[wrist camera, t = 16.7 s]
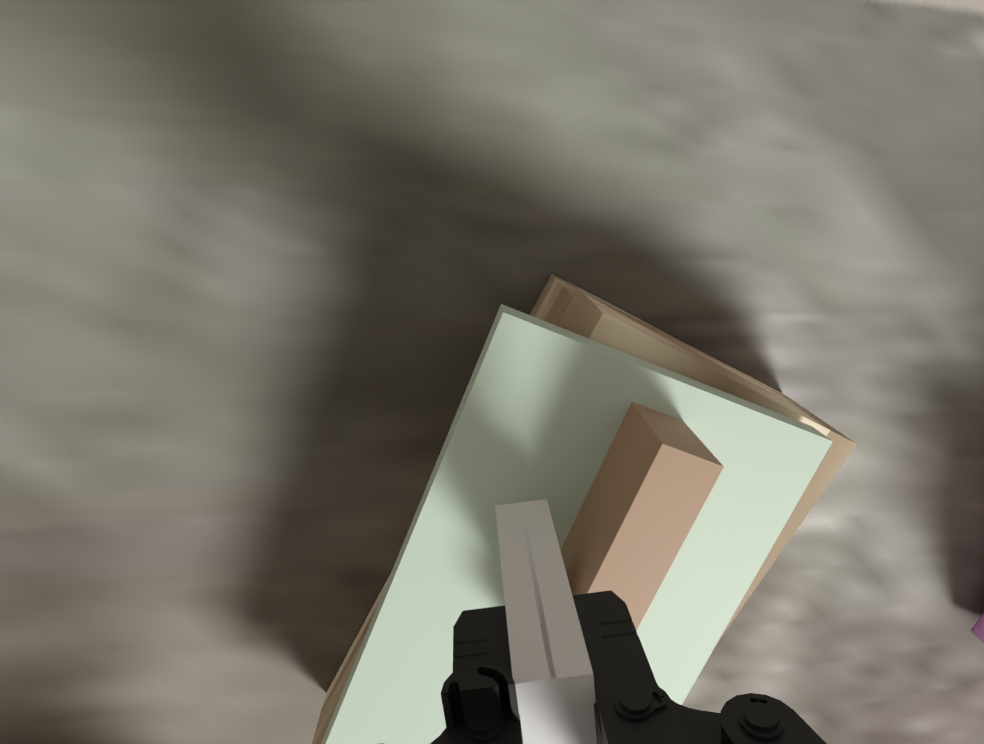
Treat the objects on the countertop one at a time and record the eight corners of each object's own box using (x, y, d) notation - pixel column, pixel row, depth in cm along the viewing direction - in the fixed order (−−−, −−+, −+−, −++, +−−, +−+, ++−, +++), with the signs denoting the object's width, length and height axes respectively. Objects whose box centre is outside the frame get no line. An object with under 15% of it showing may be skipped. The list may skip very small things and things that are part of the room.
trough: (325, 693, 28) (296, 798, 23) (551, 273, 24) (572, 296, 19) (533, 773, 30) (545, 887, 25) (783, 393, 25) (856, 443, 20)
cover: (545, 900, 25) (559, 1040, 21) (285, 831, 23) (247, 966, 19) (811, 426, 20) (899, 488, 16) (500, 303, 18) (510, 338, 14)
